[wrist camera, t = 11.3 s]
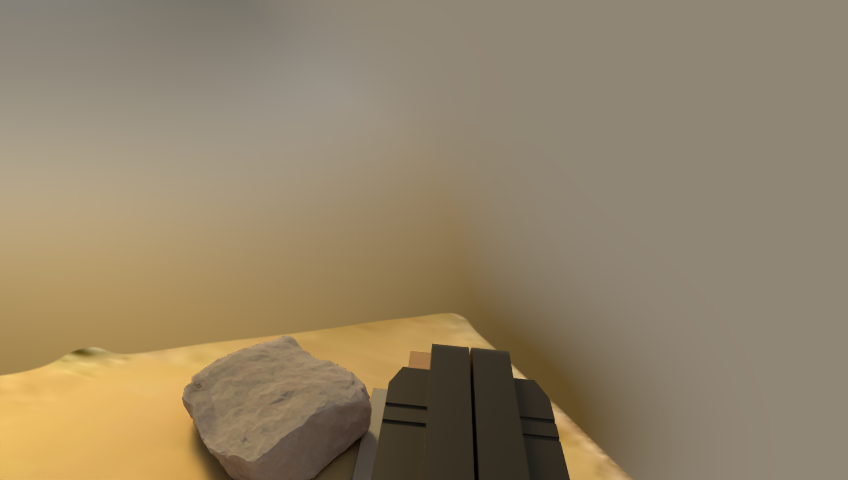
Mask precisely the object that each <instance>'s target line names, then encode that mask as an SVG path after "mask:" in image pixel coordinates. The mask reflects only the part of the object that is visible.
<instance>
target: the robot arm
mask: <svg viewBox="0 0 848 480" xmlns="http://www.w3.org/2000/svg"><path fill="white" fill-rule="evenodd" d="M371 480H570V478H569V474H568V470H567V466H566V462H565V458H564V454H563V450H562V446H561V442H559V434H558V430H557V426H556V424H555V418H554V414H553V410H552V407H551V403H550V399H549V398H548V396H547V395H546V394H545V393H544V392H543V390H542V389H541V388H540V387H539V385H538V384H537V383H536V382H535V381H534V380H526V379H517V378H513V373H512V367H511V361H510V355H509V352H507V351H499V350H489V349H479V348H471V350H470V355H469V348H468V347H458V346H449V345H439V344H432V350H431V360H430V369H429V370H428V369H419V368H409V367H402V369H401V370H400V371H399V372H398V373H397V374H396V375H395V376H394V378H393V379H392V380H391V381H390V382H389V386H388V391H387V396H386V402H385V407H384V412H383V418H382V423H381V428H380V434H379V439H378V444H377V450H376V455H375V460H374V466H373V471H372V476H371Z"/></svg>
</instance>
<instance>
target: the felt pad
mask: <svg viewBox="0 0 848 480" xmlns="http://www.w3.org/2000/svg"><path fill="white" fill-rule="evenodd" d="M387 391H388V390H387V389H376V388H373V392H372V397H371V401H370V404H371V407H372V413H371V424H370V427H369V430H368V431H367V432H366V433H365V434H364V435H363V436H362V439H361V444H360V448H359V452H358V456H357V461H356V465H355V469H354V474H353V478H352V480H371V476H372V471H373V466H374V460H375V455H376V450H377V444H378V439H379V434H380V428H381V423H382V418H383V412H384V407H385V402H386V396H387Z"/></svg>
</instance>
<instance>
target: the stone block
mask: <svg viewBox="0 0 848 480" xmlns="http://www.w3.org/2000/svg"><path fill="white" fill-rule="evenodd" d="M369 399H370V396H369V395H368V393H367V390H366V387H365V385H364V384H363V383H362V382H361V381H360V380H359V379H358V378H357V377H356V376H355V375H354V374H353V373H352V372H350V371H348V370H347V369H345V368H343V367H341V366H339V365H338V364H335V363H333V362H331V361H327V360H319V359H317V358H315V357H313V356H311V355H310V354H309V353H308V352H307V351H305V350H303V349H302V348H301V347H300V345H299V344H298V343H297V342H296V340H295V339H294V338H292V337H290V336H282V337H280V338H278V339H275V340H273V341H269V342H264V343H261V344H256V345H254V346H252V347H248V348H244V349H241V350H239V351H237V352H234V353H231V354H228V355H227V356H225V357H222V358H220V359H217V360H216V361H215V362H213V363H212V364H210V365H209V366H207V367H206V368H204V369H203V370H202V371H200V372H199V373H197V374H195V375H194V376H193V377H192V382H191V383H190V384H188V385H187V386H185V388H184V393H183V397H182V400H183V404H184V406H185V408H186V409H187V411H188V413H189V414H190V416H191V418H192V419H193V423H194V425H195V426H196V427H197V429H198V431H199V434H200V436H201V439H202V441H203V442H204V443H205V445H206V447H207V449H208V450H209V452H210V453H211V454H213V455H214V456H215V457H216V458H217V459H218V460H219V462H220V464H221V465H222V466H223V467H224V468H225V470H226V472H227V474H228V475H229V476H230V477H231V478H232V479H234V480H309V479H313V478H314V477H315V476H316V475H317V474H318V473H319V472H320V471H321V470H322V469H323V468H324V467H326V466H327V465H328V464H329V463H330V462H331V461H332V460H333V459H334V458H336V457H337V456H338V455H340V454H341V453H343V452H345V451H346V450H347V449H348V447H349V446H351V445H352V444H353V443H354V442H355V440H357V439H359V438H361V437H362V436H363V435H364V434H365V433H366V432H367V431H368V430H369V427H370V424H371V413H372V407H371V404H370V401H369Z"/></svg>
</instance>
